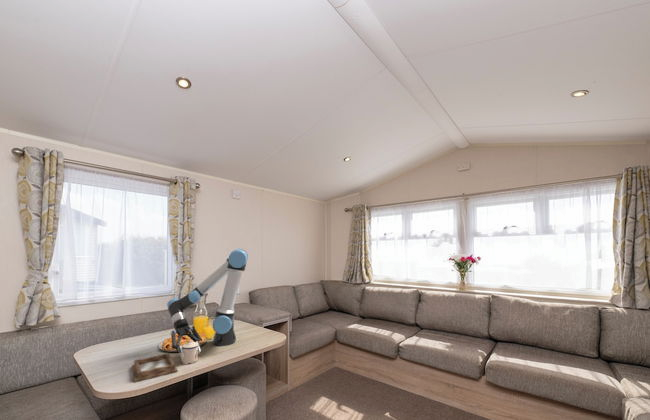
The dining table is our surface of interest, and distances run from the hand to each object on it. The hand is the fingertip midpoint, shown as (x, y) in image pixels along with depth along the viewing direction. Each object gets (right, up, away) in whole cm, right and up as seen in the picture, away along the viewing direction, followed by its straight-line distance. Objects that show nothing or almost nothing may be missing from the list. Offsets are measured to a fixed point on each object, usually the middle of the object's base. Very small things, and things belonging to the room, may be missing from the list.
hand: (191, 354), depth 169 cm
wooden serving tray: (-15, -3, -11) cm, 19 cm away
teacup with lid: (-2, -4, +2) cm, 5 cm away
